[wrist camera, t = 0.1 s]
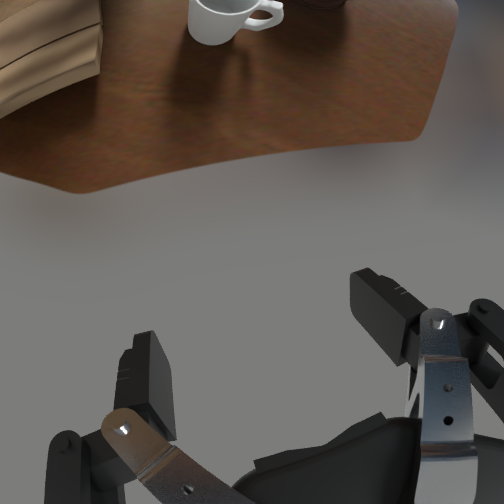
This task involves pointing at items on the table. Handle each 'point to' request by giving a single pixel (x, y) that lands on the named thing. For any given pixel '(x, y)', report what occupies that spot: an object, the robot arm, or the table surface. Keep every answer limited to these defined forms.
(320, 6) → the black sphere on base
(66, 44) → the board
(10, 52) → the fixed plank
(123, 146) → the table surface
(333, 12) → the table surface
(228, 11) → the mug
